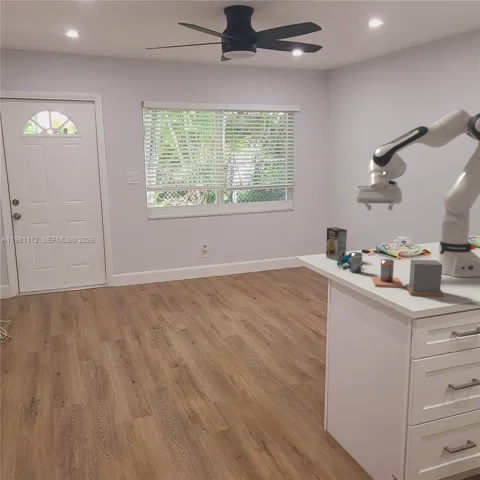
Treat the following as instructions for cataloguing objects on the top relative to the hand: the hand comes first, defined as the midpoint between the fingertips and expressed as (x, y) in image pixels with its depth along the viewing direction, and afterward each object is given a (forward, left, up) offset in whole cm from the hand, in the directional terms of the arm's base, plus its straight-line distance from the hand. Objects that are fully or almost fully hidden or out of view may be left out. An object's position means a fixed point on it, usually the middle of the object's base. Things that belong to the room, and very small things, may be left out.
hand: (379, 209), depth 196 cm
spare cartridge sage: (+10, +3, -29) cm, 31 cm away
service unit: (-14, +30, -29) cm, 44 cm away
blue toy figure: (+14, -6, -30) cm, 34 cm away
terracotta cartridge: (-1, +20, -28) cm, 35 cm away
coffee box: (+18, -23, -30) cm, 41 cm away
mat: (-2, +20, -29) cm, 35 cm away
